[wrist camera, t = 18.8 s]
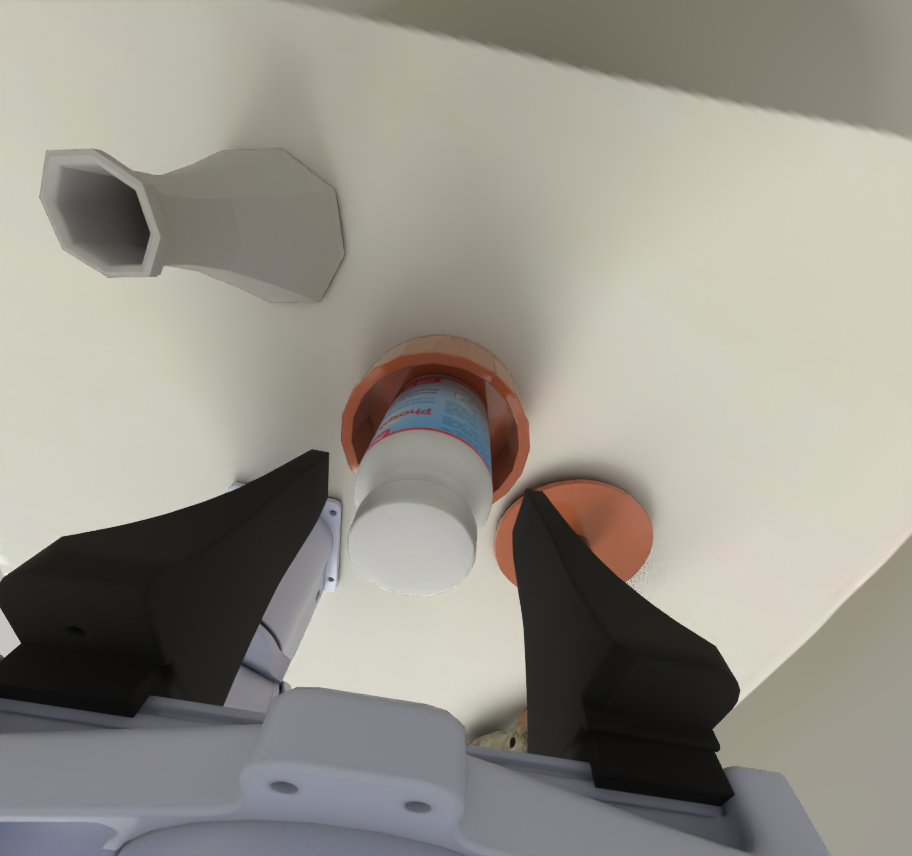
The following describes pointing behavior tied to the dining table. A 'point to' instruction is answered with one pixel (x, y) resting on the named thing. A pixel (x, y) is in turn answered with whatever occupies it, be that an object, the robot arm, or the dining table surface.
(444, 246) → the dining table surface
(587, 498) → the lid
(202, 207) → the flask
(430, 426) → the pill bottle
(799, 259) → the dining table surface
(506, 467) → the bowl
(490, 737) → the decorative bird
